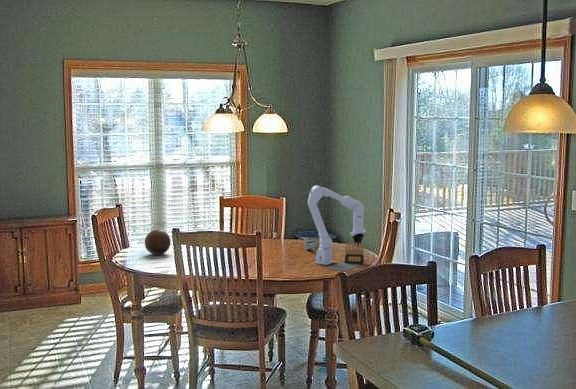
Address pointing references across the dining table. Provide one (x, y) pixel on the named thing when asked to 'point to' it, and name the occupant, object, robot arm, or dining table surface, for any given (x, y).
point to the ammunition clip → (353, 257)
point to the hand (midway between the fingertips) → (357, 246)
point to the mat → (343, 266)
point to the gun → (311, 244)
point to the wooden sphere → (157, 242)
